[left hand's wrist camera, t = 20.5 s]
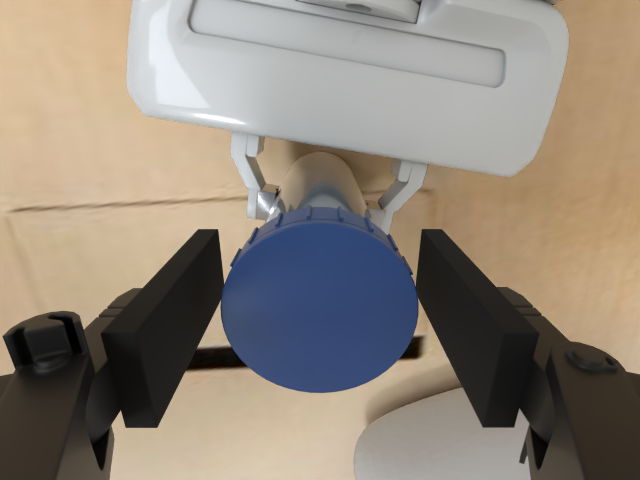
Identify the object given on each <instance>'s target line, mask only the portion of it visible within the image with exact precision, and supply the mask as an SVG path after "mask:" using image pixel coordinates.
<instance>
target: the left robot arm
mask: <svg viewBox="0 0 640 480" xmlns="http://www.w3.org/2000/svg"><path fill="white" fill-rule="evenodd" d="M223 287H224V278H223V269H222V260H221V251H220V242H219V233H218V229H198V230H197V231H196V232H195V233H194V234H193V236H192V237H191V238H190V239H189V240H188V241H187V242H186V243H185V244H184V245H183V246H182V247H181V248H180V249H179V250H178V251H177V252H176V254H175V255H174V256H173V257H172V258H171V259H170V260H169V261H168V262H167V263H166V264H165V265H164V266H163V267H162V268H161V269H160V270H159V272H158V273H157V274H156V275H155V276H154V277H153V278H152V279H151V280H150V281H149V282H148V283H147V284H146V285H145V286H144V287H143V288H133V289H131V290H129V291H128V292H126V293H124V294H122V295H120V296H119V297H117V298H116V299H115V300H114V301H113V302H112V303H111V304H110V305H109V306H108V308H107V309H105V310H104V311H103V312H102V313H101V314H100V315H99V318H96V319H95V320H94V321H93V322H92V323H91V324H89V325H88V326H87V327H86V328H85V329H84V330H83V326H82V323H81V319H80V316H79V315H78V314H76V313H74V312H68V311H58V312H50V313H46V314H42V315H38V316H35V317H33V318H30V319H28V320H25V321H23V322H21V323H19V324H17V325H16V326H14V327H12V328H11V329H10V330H9V331H8V332H7V333H6V334H5V335H4V336H3V338H4V341H5V344H6V346H7V349H8V351H9V354H10V356H11V359H12V361H13V364H14V367H15V369H16V370H15V372H14V374H9V375H4V376H0V480H109V479H110V471H111V463H112V455H113V447H114V434H113V430H112V426H111V424H112V423H113V421H114V420H115V418H116V417H117V415H118V413H119V412H120V410H121V412H122V416H123V419H124V423H125V427H126V428H157V427H158V425H159V423H160V421H161V419H162V417H163V415H164V413H165V411H166V409H167V407H168V405H169V403H170V401H171V399H172V397H173V395H174V393H175V391H176V389H177V387H178V385H179V383H180V381H181V379H182V377H183V375H184V373H185V371H186V369H187V367H188V365H189V363H190V361H191V359H192V357H193V355H194V353H195V351H196V349H197V347H198V345H199V343H200V341H201V339H202V337H203V335H204V333H205V331H206V329H207V327H208V325H209V323H210V321H211V319H212V317H213V315H214V313H215V311H216V309H217V307H218V305H219V303H220V301H221V297H222V289H223ZM416 291H417V296H418V298H419V301H420V303H421V305H422V307H423V309H424V311H425V313H426V315H427V317H428V319H429V321H430V323H431V325H432V327H433V329H434V331H435V333H436V335H437V337H438V339H439V341H440V343H441V345H442V347H443V349H444V351H445V353H446V355H447V357H448V359H449V361H450V363H451V365H452V367H453V369H454V371H455V373H456V375H457V377H458V379H459V381H460V383H461V385H462V387H463V389H464V391H465V393H466V395H467V397H468V399H469V401H470V403H471V405H472V407H473V409H474V411H475V413H476V415H477V417H478V419H479V421H480V423H481V425H482V427H483V428H514V427H515V423H516V419H517V416H518V412H519V409H520V410H521V412H522V413H523V415H524V416H525V418H526V419H527V421H528V422H529V426H528V430H527V433H526V437H525V440H524V444H523V447H522V451H521V454H520V459H519V463H521V464H524V463H525V460H526V457H527V456H528V462H529V469H530V477H531V480H640V374H635V373H630V372H626V371H625V369H624V368H623V367H622V365H621V364H620V363H619V362H618V361H617V360H616V359H614V358H613V357H612V356H610V355H609V354H607V353H606V352H603V351H601V350H599V349H597V348H595V347H593V346H589V345H586V344H583V343H579V342H570V341H569V340H568V339H567V338H566V337H565V336H564V335H563V334H562V333H561V332H560V331H558V330H557V329H556V328H555V327H554V326H553V325H552V324H551V323H550V322H549V321H548V320H547V319H546V318H545V317H544V316H541V313H540V312H539V311H538V310H537V309H536V308H533V305H532V304H531V303H529V302H528V301H527V300H526V299H525V298H524V297H523V296H522V295H520V294H518V293H517V292H515V291H513V290H511V289H509V288H507V287H496V286H495V285H494V284H493V283H492V282H491V281H490V280H489V279H488V278H487V277H486V276H485V275H484V274H483V273H482V272H481V270H480V269H479V268H478V267H477V266H476V265H475V264H474V263H473V262H472V261H471V260H470V259H469V258H468V257H467V256H466V255H465V254H464V252H463V251H462V250H461V249H460V248H459V247H458V246H457V245H456V244H455V243H454V242H453V241H452V240H451V239H450V238H449V237H448V236H447V234H446V233H445V232H444V231H443V230H442V229H422V233H421V242H420V251H419V260H418V269H417V278H416Z"/></svg>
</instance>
